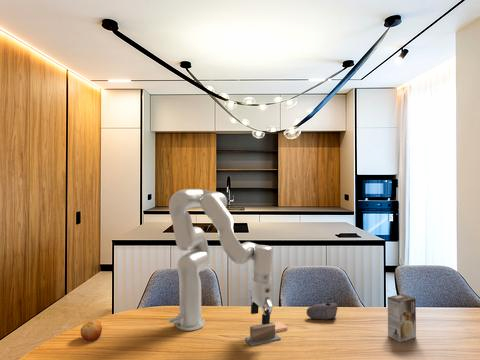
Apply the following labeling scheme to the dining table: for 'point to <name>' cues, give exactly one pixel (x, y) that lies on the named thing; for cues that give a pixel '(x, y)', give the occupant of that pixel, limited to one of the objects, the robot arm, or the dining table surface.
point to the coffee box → (401, 317)
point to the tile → (280, 327)
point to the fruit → (91, 330)
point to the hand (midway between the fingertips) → (259, 318)
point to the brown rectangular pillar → (262, 332)
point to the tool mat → (262, 340)
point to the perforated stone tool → (322, 311)
